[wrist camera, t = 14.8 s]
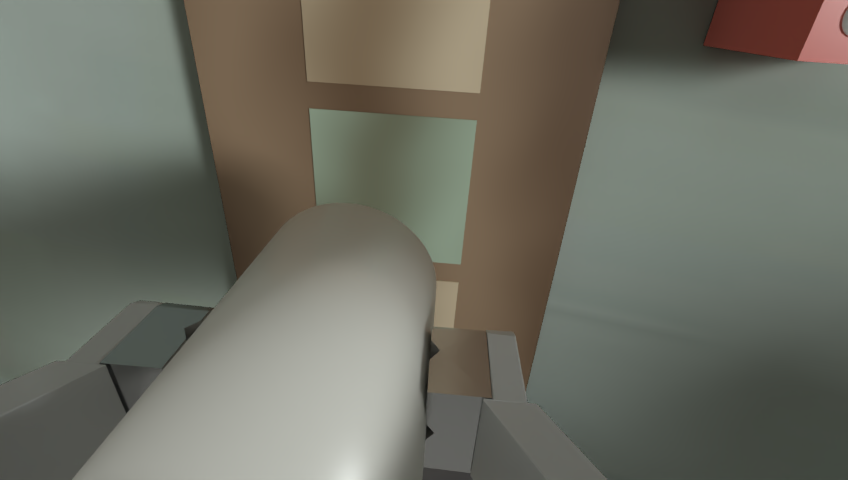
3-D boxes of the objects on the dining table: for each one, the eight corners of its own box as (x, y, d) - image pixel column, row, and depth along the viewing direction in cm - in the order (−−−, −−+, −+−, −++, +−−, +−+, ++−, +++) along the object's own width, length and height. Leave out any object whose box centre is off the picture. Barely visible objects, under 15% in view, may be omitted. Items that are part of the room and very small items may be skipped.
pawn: (449, 217, 9) (440, 504, 4) (424, 358, 11) (394, 680, 6) (262, 189, 9) (-14, 437, 4) (269, 335, 11) (92, 637, 6)
